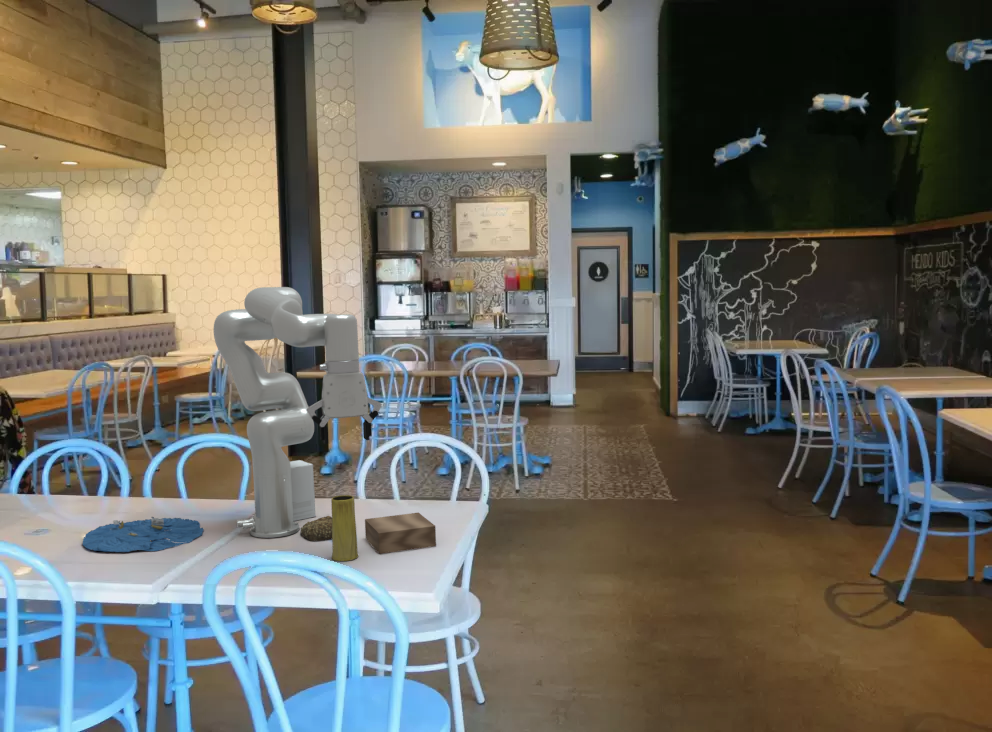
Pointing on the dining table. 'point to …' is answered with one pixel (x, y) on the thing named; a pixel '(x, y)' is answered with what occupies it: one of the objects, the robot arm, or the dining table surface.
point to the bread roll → (318, 529)
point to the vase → (343, 528)
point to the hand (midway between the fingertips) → (346, 441)
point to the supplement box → (302, 490)
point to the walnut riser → (400, 533)
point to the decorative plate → (142, 535)
